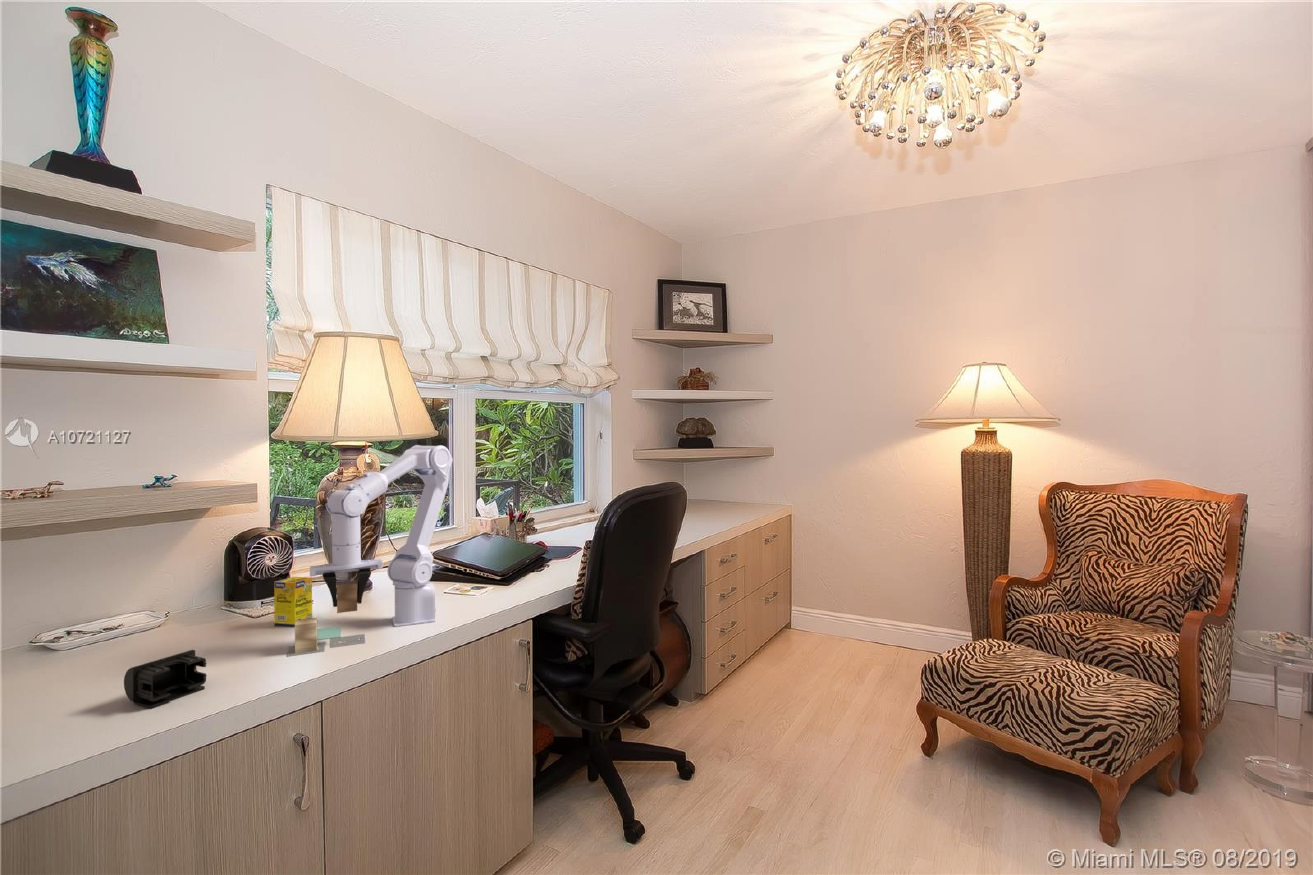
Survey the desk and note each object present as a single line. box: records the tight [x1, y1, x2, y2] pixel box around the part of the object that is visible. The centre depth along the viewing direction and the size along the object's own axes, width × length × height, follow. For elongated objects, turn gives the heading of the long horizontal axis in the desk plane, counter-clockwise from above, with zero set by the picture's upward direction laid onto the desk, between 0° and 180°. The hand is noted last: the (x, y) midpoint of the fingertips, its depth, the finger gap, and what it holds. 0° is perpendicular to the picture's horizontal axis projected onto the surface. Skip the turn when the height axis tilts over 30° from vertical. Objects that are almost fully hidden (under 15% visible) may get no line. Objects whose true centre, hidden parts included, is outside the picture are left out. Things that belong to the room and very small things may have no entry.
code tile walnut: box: [329, 633, 366, 649], centre depth 143 cm, size 7×7×1 cm
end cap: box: [123, 649, 208, 710], centre depth 114 cm, size 10×7×7 cm
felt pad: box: [317, 625, 342, 641], centre depth 147 cm, size 9×9×1 cm
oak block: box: [294, 617, 318, 653], centre depth 137 cm, size 4×4×6 cm
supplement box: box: [273, 576, 313, 628], centre depth 156 cm, size 6×6×11 cm
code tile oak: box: [286, 641, 326, 658], centre depth 137 cm, size 7×7×1 cm
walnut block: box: [336, 579, 358, 614], centre depth 142 cm, size 4×4×6 cm
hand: (347, 604), depth 143 cm, fingers closed on walnut block, 4 cm apart
